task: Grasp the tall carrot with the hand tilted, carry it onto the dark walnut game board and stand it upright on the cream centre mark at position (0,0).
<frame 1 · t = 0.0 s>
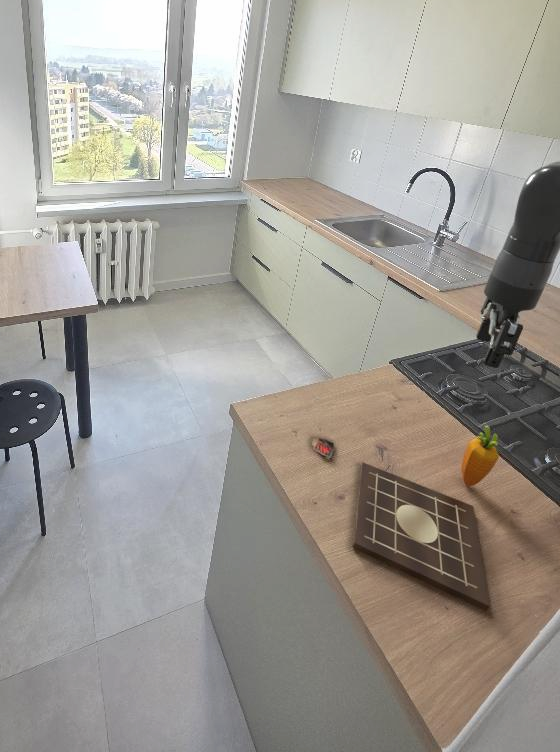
hand: (486, 352, 79), 29 cm above the counter, tool pointing down, fingers open, 8 cm apart
matchbox: (322, 448, 92), on the counter
game board: (414, 528, 77), on the counter
carrot: (466, 485, 86), on the counter
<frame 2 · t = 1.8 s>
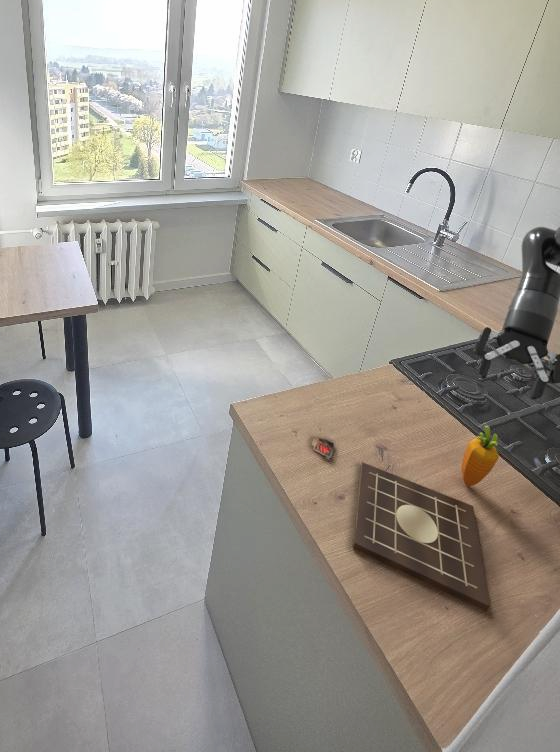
hand: (507, 388, 85), 19 cm above the counter, tool tilted 40°, fingers open, 8 cm apart
nothing on the counter moved.
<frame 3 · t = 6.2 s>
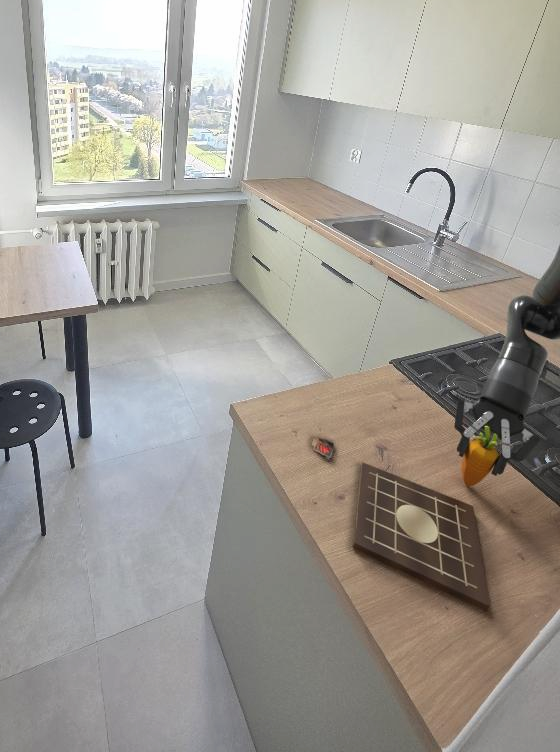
hand: (477, 464, 81), 8 cm above the counter, tool tilted 45°, fingers closed on carrot, 5 cm apart
carrot: (466, 485, 86), on the counter, touching gripper
everything else where it was.
when the fingers open (9 cm above the counter, at t = 12.7 s): carrot stays where it is, resting on game board.
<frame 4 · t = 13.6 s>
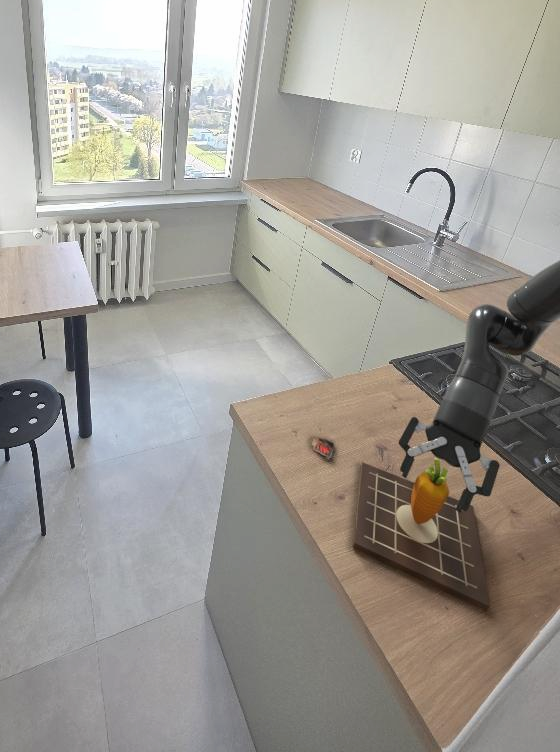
hand: (430, 493, 72), 11 cm above the counter, tool tilted 45°, fingers open, 8 cm apart
carrot: (416, 522, 77), point 1 cm above the counter, touching game board
everything else where it was.
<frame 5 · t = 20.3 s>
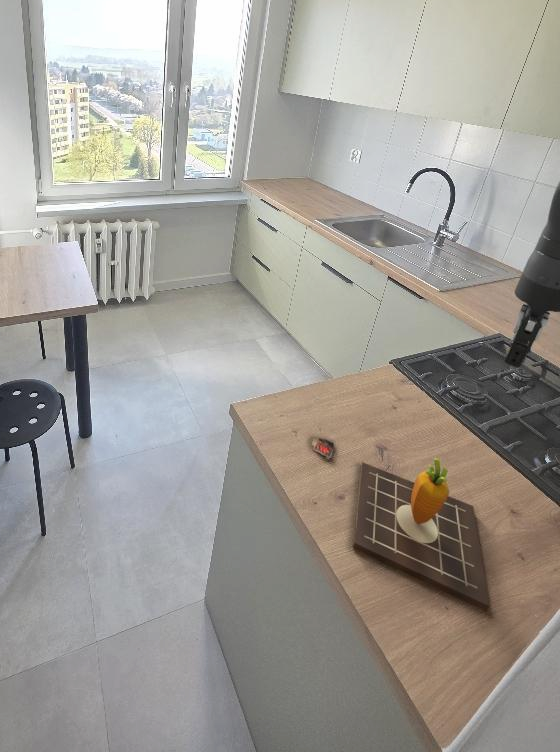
hand: (515, 353, 77), 30 cm above the counter, tool pointing down, fingers open, 8 cm apart
nothing on the counter moved.
at the end: carrot 0.2 cm off-centre on the game board, point 1.4 cm above the game board's base; carrot tilted 0°; the gripper is holding nothing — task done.
